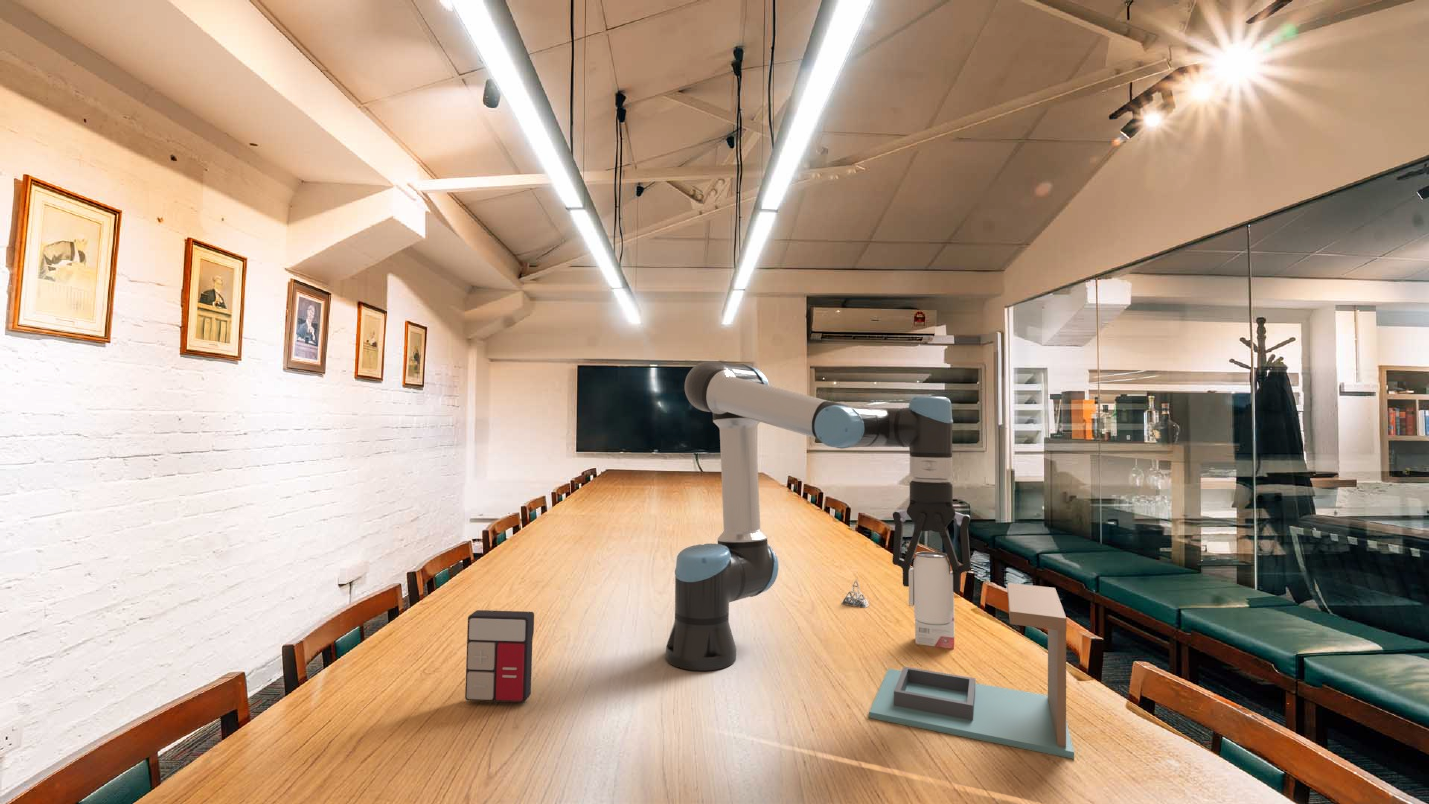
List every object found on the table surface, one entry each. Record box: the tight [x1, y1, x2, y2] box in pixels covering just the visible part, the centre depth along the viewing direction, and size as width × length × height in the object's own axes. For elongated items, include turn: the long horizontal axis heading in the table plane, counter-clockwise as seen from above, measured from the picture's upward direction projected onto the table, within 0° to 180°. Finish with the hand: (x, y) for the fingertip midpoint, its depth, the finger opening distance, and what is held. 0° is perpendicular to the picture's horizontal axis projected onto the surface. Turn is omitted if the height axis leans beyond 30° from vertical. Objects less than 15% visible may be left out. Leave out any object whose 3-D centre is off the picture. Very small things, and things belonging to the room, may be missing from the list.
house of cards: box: [840, 580, 870, 609], centre depth 180 cm, size 9×9×8 cm
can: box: [912, 551, 952, 625], centre depth 117 cm, size 6×6×12 cm
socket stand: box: [868, 582, 1075, 760], centre depth 115 cm, size 31×22×21 cm
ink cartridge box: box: [914, 608, 955, 650], centre depth 149 cm, size 9×5×15 cm, turn 68°
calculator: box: [464, 609, 535, 703], centre depth 116 cm, size 11×4×15 cm, turn 88°
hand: (931, 606), depth 117 cm, fingers closed on can, 6 cm apart
